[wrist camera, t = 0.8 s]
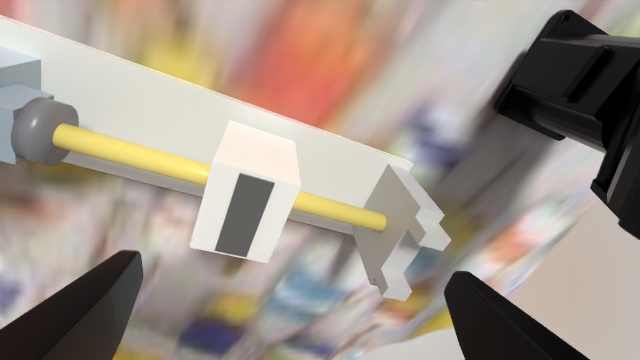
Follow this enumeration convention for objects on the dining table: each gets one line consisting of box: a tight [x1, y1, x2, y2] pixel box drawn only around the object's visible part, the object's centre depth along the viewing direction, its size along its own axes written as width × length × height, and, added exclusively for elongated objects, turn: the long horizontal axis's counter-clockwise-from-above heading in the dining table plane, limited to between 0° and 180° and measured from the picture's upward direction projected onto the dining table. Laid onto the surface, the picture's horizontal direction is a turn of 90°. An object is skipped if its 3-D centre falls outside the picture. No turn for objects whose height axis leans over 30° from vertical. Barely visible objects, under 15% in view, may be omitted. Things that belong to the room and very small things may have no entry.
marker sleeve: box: [189, 120, 301, 263], centre depth 17 cm, size 4×5×6 cm
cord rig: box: [0, 15, 451, 301], centre depth 16 cm, size 25×7×7 cm, turn 67°
